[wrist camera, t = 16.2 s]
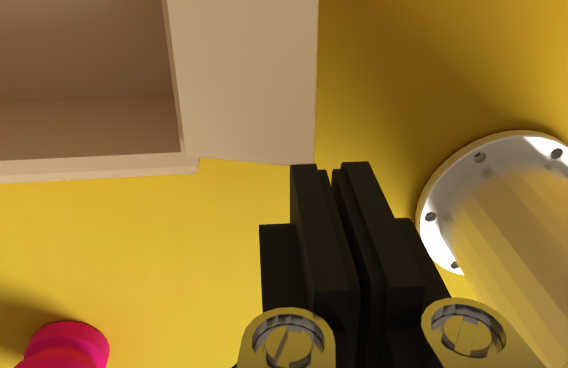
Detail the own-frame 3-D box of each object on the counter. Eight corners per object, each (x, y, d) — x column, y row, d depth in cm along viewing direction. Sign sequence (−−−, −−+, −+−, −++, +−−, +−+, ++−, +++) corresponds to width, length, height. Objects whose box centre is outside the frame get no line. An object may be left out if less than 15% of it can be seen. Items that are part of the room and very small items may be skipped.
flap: (186, 155, 23) (312, 167, 22) (156, -86, 18) (318, -85, 17) (190, 150, 24) (314, 161, 23) (163, -87, 19) (321, -86, 18)
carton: (183, -131, 25) (166, -135, 18) (206, 112, 32) (200, 175, 25) (-201, -129, 24) (-375, -133, 17) (-91, 124, 30) (-183, 195, 24)
